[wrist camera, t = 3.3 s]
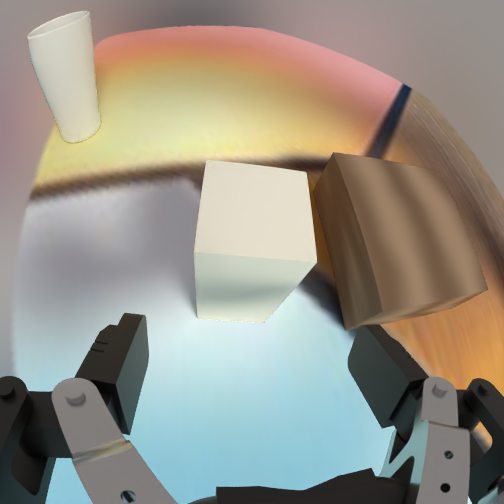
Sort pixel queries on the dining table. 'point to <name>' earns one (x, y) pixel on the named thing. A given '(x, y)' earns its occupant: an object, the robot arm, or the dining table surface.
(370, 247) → the walnut box
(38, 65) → the drinking glass
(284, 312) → the dining table surface
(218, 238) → the offwhite block
